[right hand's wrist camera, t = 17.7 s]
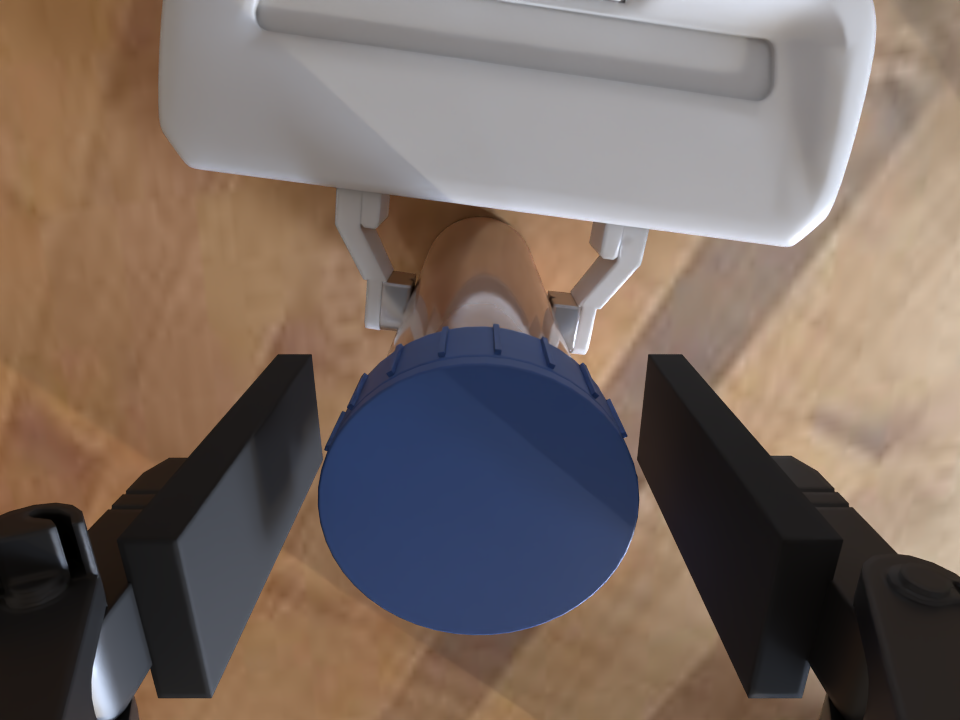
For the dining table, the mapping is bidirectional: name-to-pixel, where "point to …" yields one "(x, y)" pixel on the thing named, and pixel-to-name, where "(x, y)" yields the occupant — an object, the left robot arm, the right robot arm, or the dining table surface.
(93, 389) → the dining table surface
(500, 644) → the dining table surface
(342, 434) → the lid
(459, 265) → the jar
